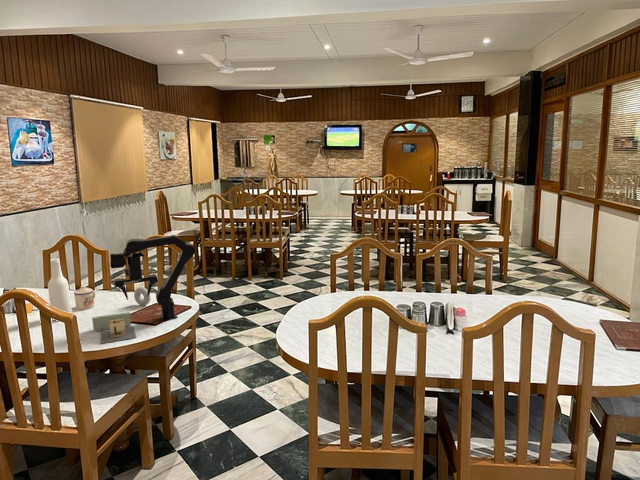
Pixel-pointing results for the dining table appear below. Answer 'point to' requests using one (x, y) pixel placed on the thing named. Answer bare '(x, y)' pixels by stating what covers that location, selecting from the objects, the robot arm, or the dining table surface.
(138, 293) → the donut
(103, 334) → the charcoal pad
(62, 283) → the white bottle
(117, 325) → the marked cube
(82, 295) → the teacup with lid
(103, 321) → the sage screen
